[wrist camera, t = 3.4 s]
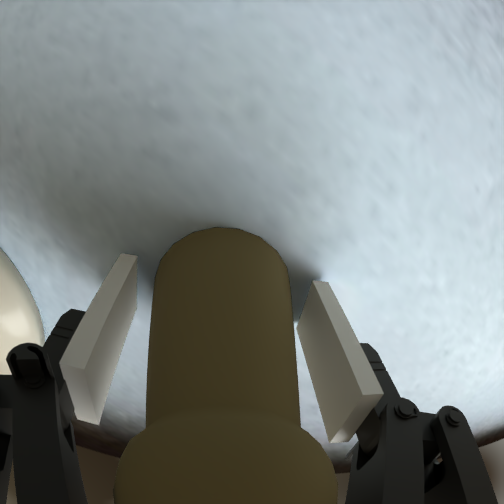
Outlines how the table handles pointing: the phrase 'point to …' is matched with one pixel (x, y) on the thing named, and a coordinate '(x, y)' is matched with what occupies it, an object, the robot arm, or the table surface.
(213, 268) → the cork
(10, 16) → the table surface
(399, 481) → the robot arm
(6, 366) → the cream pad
